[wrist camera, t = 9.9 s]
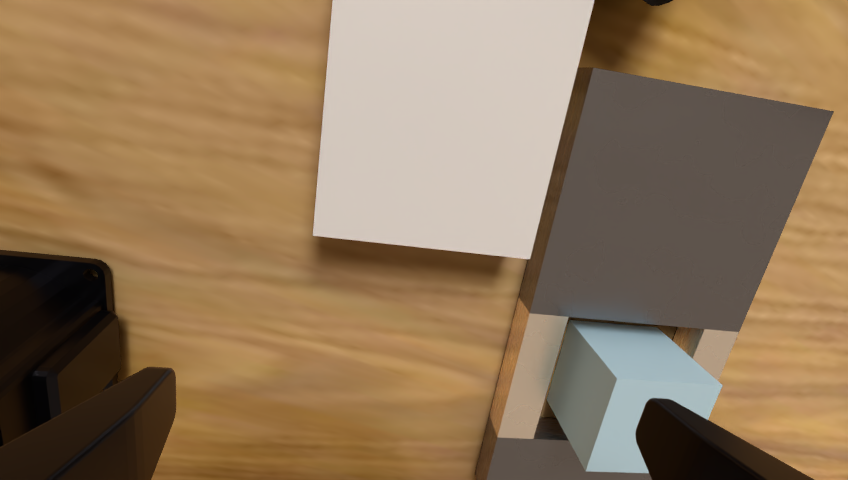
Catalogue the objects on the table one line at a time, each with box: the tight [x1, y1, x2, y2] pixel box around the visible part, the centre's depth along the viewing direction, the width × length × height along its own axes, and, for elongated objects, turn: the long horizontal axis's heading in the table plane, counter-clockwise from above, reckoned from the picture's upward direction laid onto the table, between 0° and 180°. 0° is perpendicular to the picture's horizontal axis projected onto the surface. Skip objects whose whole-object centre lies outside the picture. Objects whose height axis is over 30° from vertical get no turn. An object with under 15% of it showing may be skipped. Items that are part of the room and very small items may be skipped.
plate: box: [475, 68, 834, 480], centre depth 21 cm, size 10×20×2 cm, turn 171°
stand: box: [313, 0, 594, 259], centre depth 16 cm, size 8×10×2 cm
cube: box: [547, 320, 722, 473], centre depth 21 cm, size 4×4×4 cm
